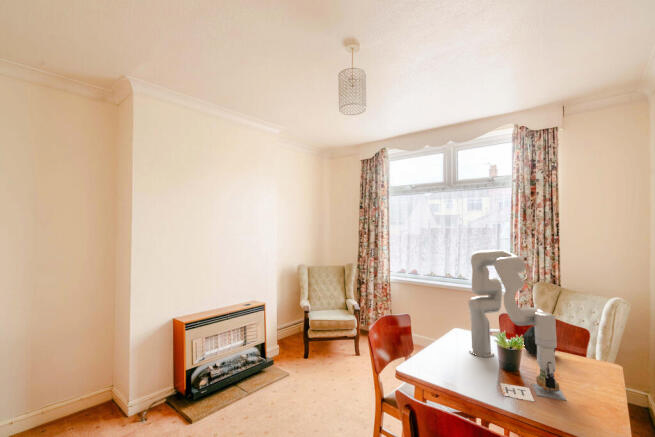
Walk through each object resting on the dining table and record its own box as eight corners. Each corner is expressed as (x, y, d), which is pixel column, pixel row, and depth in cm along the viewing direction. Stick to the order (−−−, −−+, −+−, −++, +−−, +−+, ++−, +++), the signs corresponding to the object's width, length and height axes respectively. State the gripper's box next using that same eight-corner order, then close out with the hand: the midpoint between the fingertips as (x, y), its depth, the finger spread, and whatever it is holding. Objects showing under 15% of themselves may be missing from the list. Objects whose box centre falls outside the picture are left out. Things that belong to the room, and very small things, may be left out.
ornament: (562, 392, 125) (561, 368, 125) (550, 394, 124) (548, 369, 124) (546, 382, 133) (545, 360, 133) (534, 384, 132) (532, 361, 132)
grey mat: (532, 384, 135) (532, 383, 135) (559, 388, 130) (559, 387, 130) (537, 395, 125) (537, 394, 125) (566, 400, 121) (566, 399, 121)
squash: (559, 352, 154) (552, 324, 164) (525, 349, 161) (520, 322, 170) (555, 362, 163) (549, 335, 173) (523, 359, 170) (519, 333, 179)
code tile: (500, 383, 136) (500, 382, 136) (528, 388, 131) (528, 387, 131) (503, 396, 126) (503, 395, 126) (534, 401, 121) (534, 401, 121)
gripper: (531, 333, 138) (532, 371, 138) (540, 348, 122) (542, 391, 122) (550, 335, 135) (552, 374, 135) (562, 350, 119) (564, 394, 119)
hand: (547, 382), depth 128 cm, fingers closed on ornament, 8 cm apart
